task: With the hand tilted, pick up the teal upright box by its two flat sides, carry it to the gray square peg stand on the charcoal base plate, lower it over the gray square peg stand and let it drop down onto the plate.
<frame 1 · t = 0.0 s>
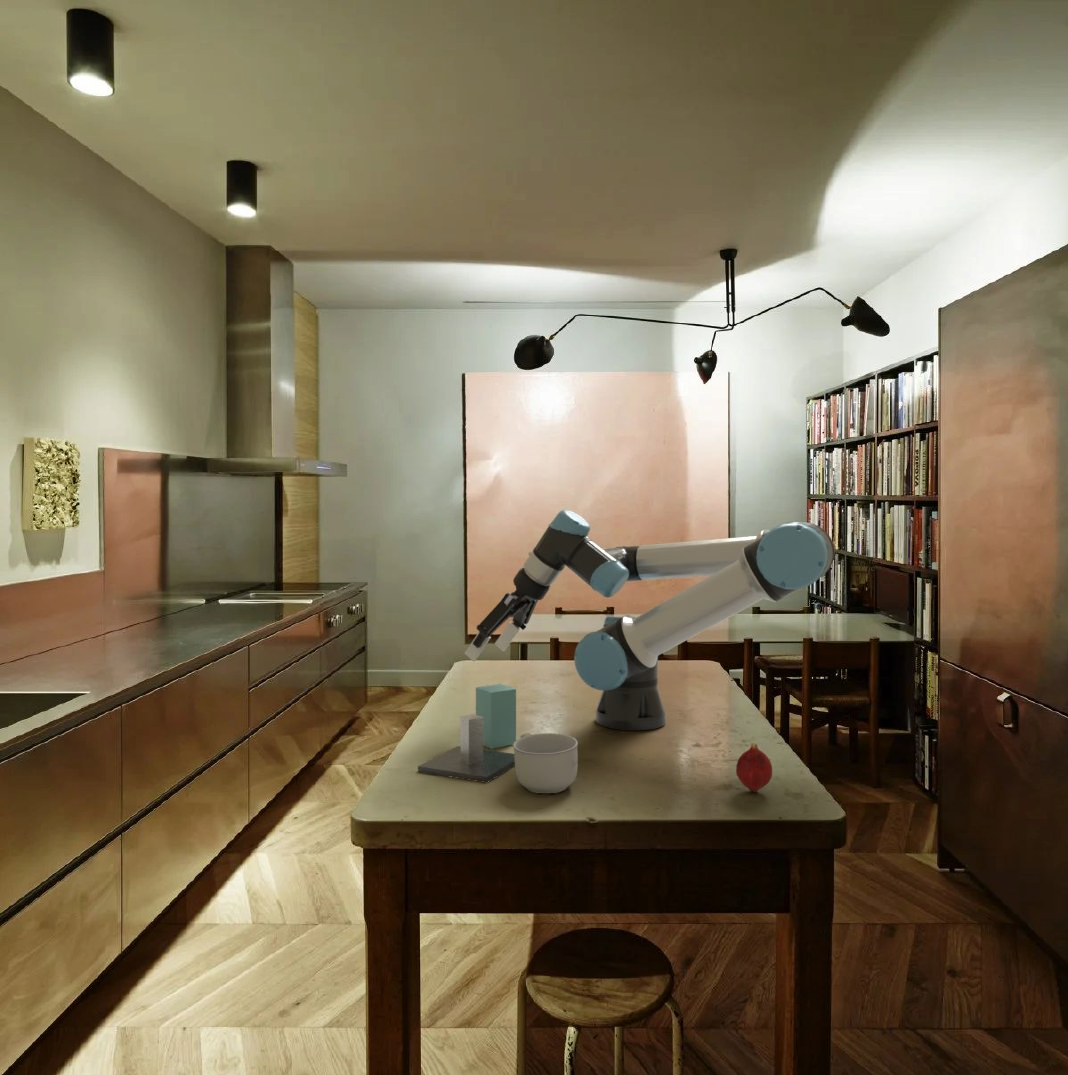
hand: (485, 652, 184), 15 cm above the countertop, tool tilted 35°, fingers open, 13 cm apart
teacup: (542, 786, 142), on the countertop
onion: (754, 793, 139), on the countertop
teal upright box: (495, 742, 168), on the countertop
gray square peg stand: (471, 765, 153), on the countertop
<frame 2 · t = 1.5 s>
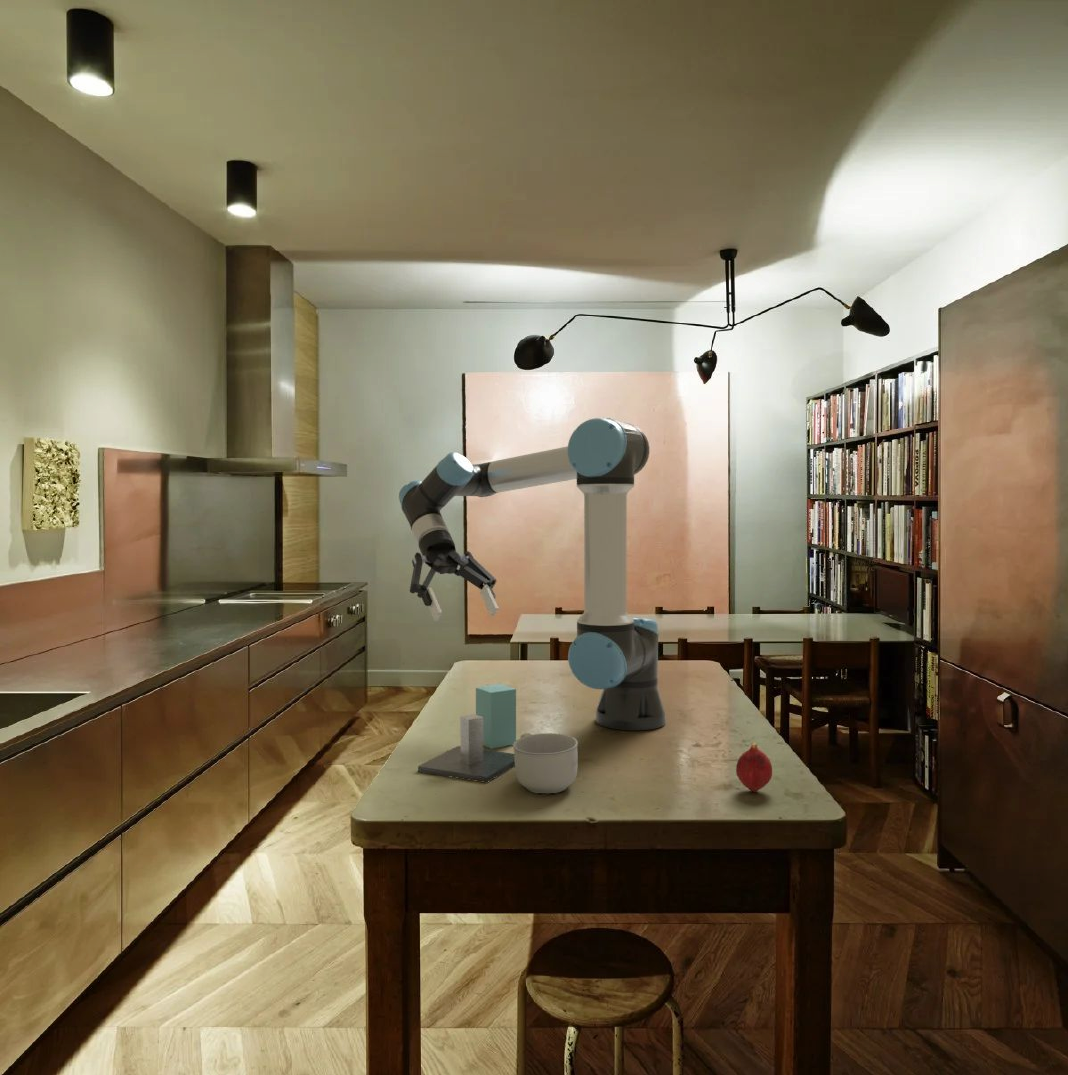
hand: (467, 614, 176), 25 cm above the countertop, tool tilted 45°, fingers open, 13 cm apart
nothing on the countertop moved.
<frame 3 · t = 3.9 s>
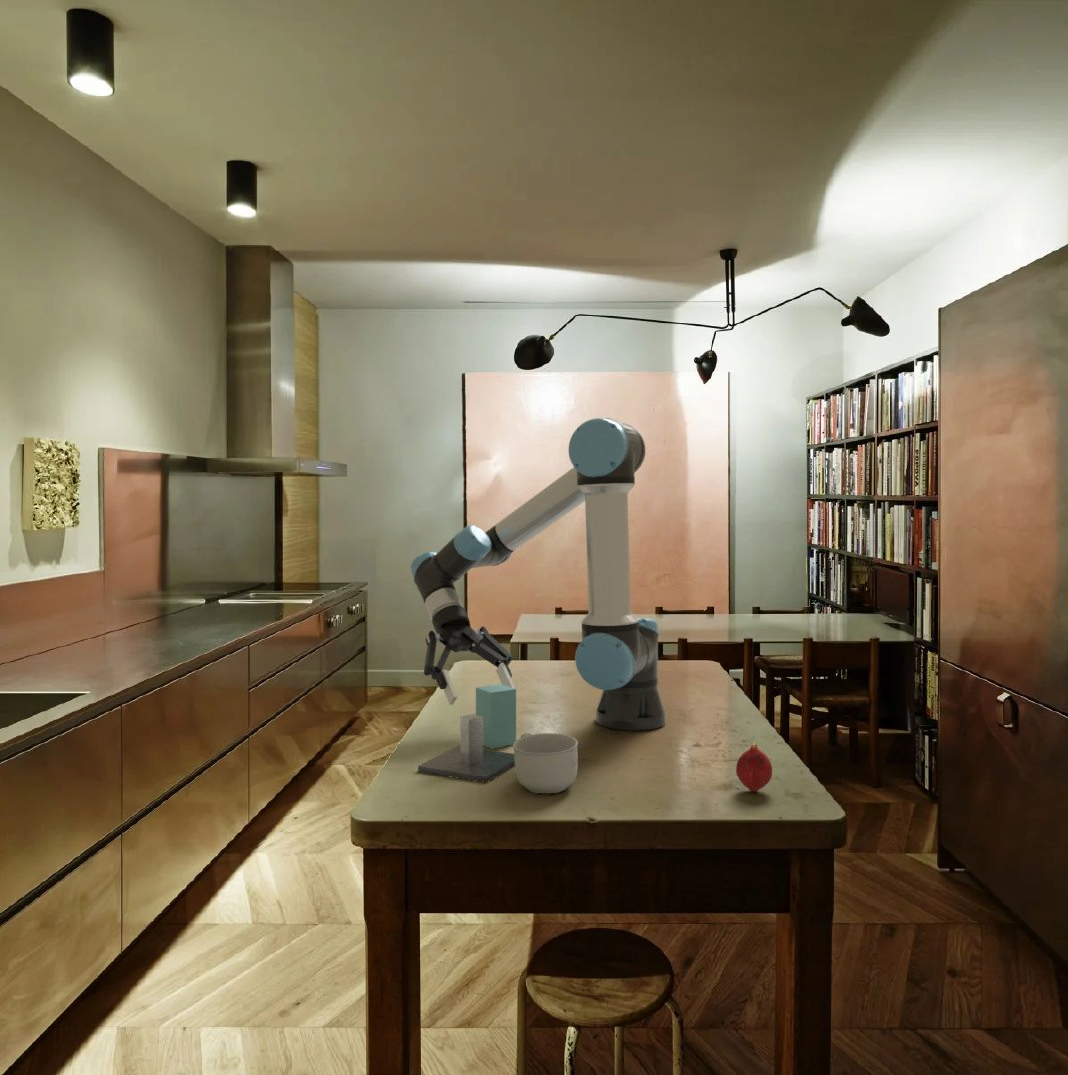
hand: (483, 696, 170), 9 cm above the countertop, tool tilted 45°, fingers open, 13 cm apart
nothing on the countertop moved.
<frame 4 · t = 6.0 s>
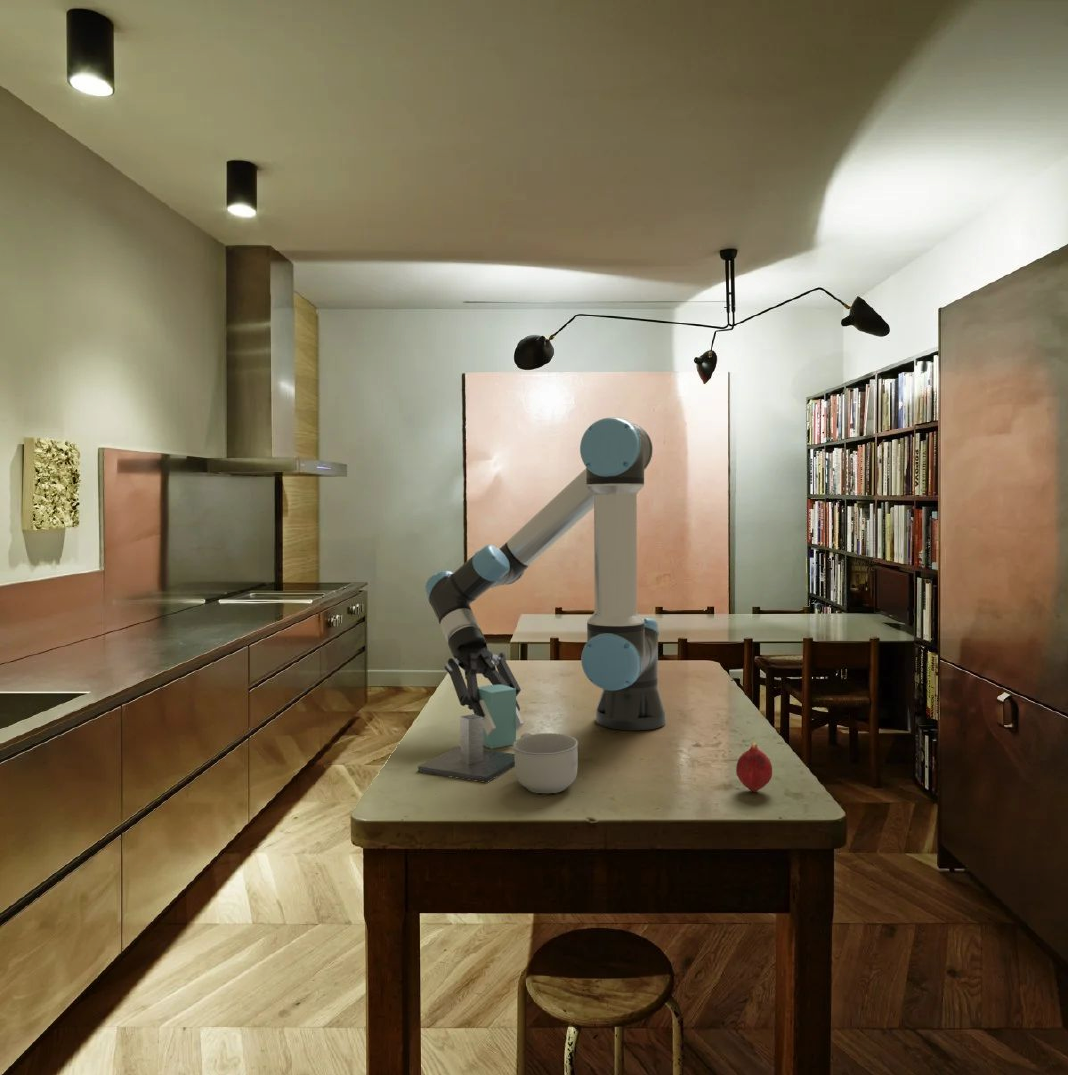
hand: (505, 729, 165), 4 cm above the countertop, tool tilted 45°, fingers closed on teal upright box, 6 cm apart
teal upright box: (495, 742, 168), on the countertop, touching gripper
everything else where it was.
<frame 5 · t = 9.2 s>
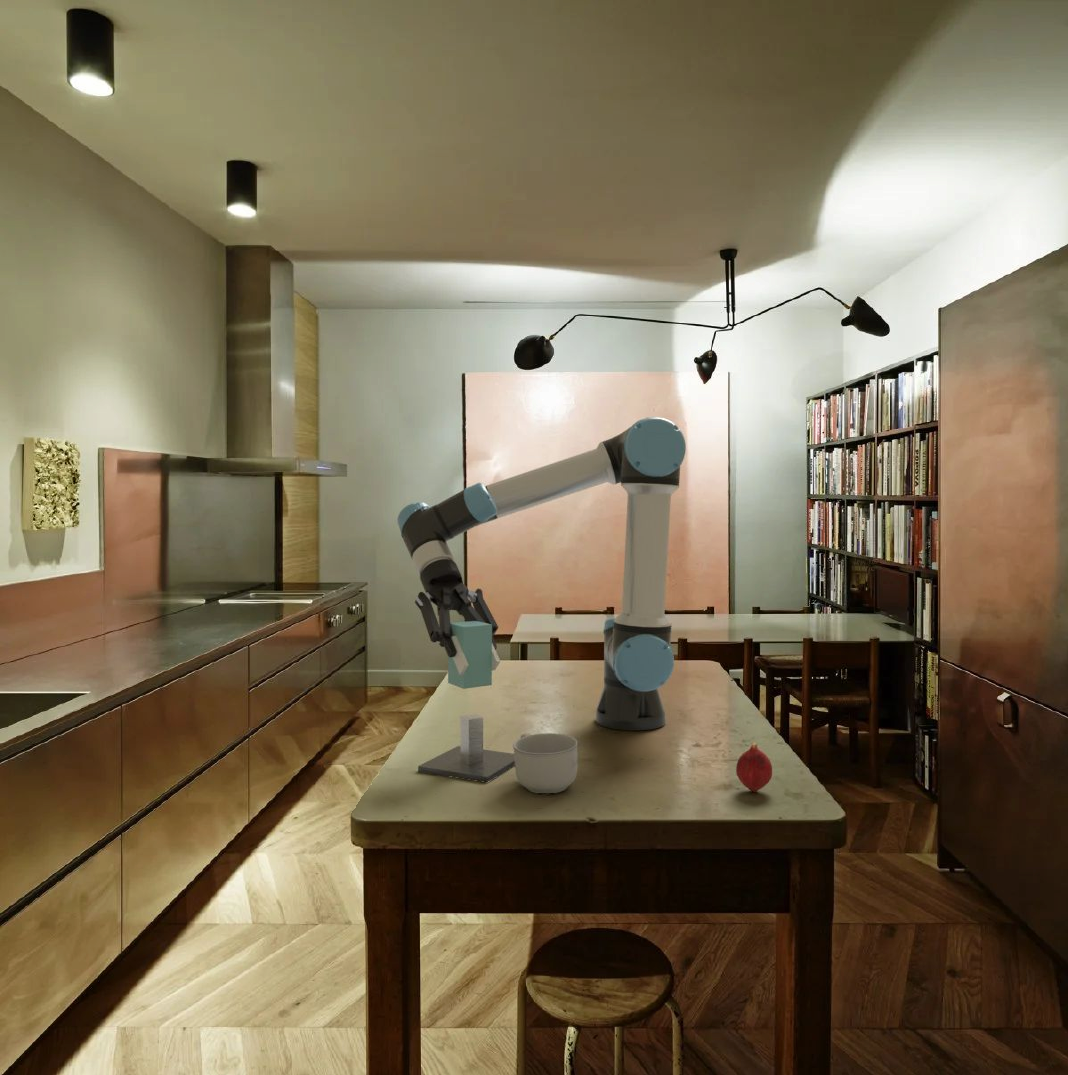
hand: (480, 667, 150), 18 cm above the countertop, tool tilted 45°, fingers closed on teal upright box, 6 cm apart
teal upright box: (469, 684, 153), point 15 cm above the countertop, touching gripper
everything else where it was.
when the fingers open (6 cm above the countertop, at t = 12.4 s): teal upright box drops 2 cm, resting on gray square peg stand.
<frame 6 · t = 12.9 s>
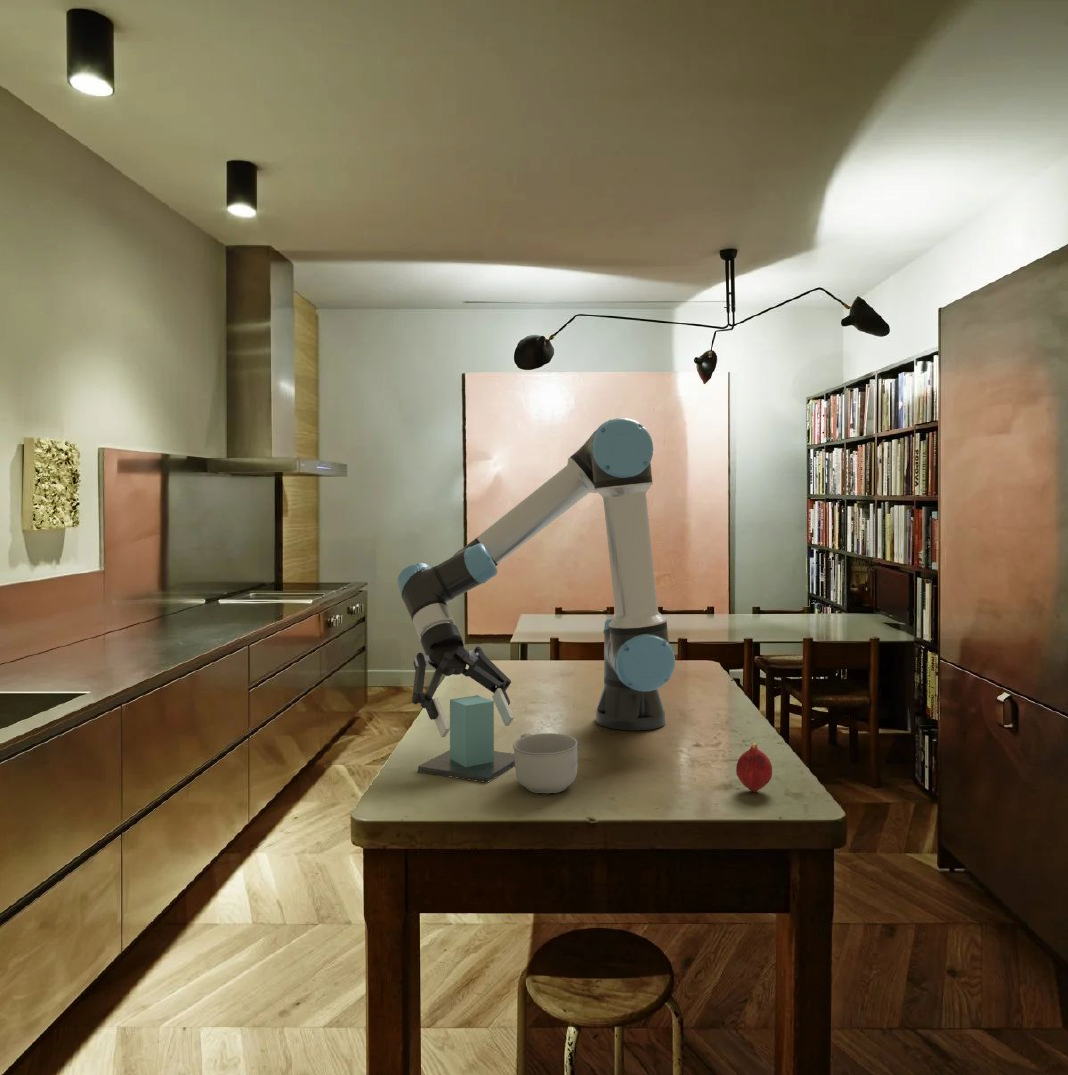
hand: (478, 727, 151), 8 cm above the countertop, tool tilted 45°, fingers open, 13 cm apart
teal upright box: (471, 760, 153), point 1 cm above the countertop, touching gray square peg stand
everything else where it was.
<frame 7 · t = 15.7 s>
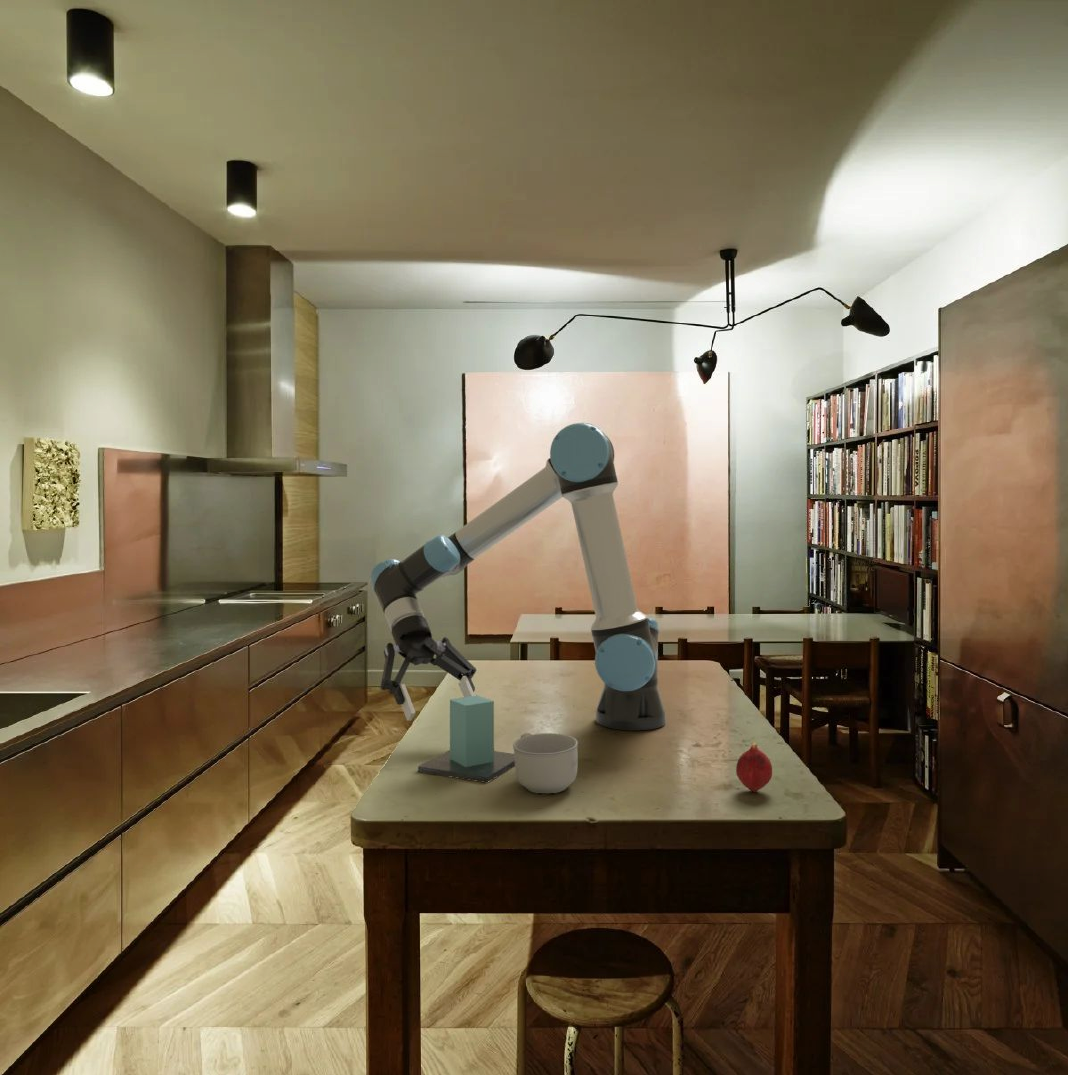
hand: (443, 712, 161), 8 cm above the countertop, tool tilted 45°, fingers open, 13 cm apart
nothing on the countertop moved.
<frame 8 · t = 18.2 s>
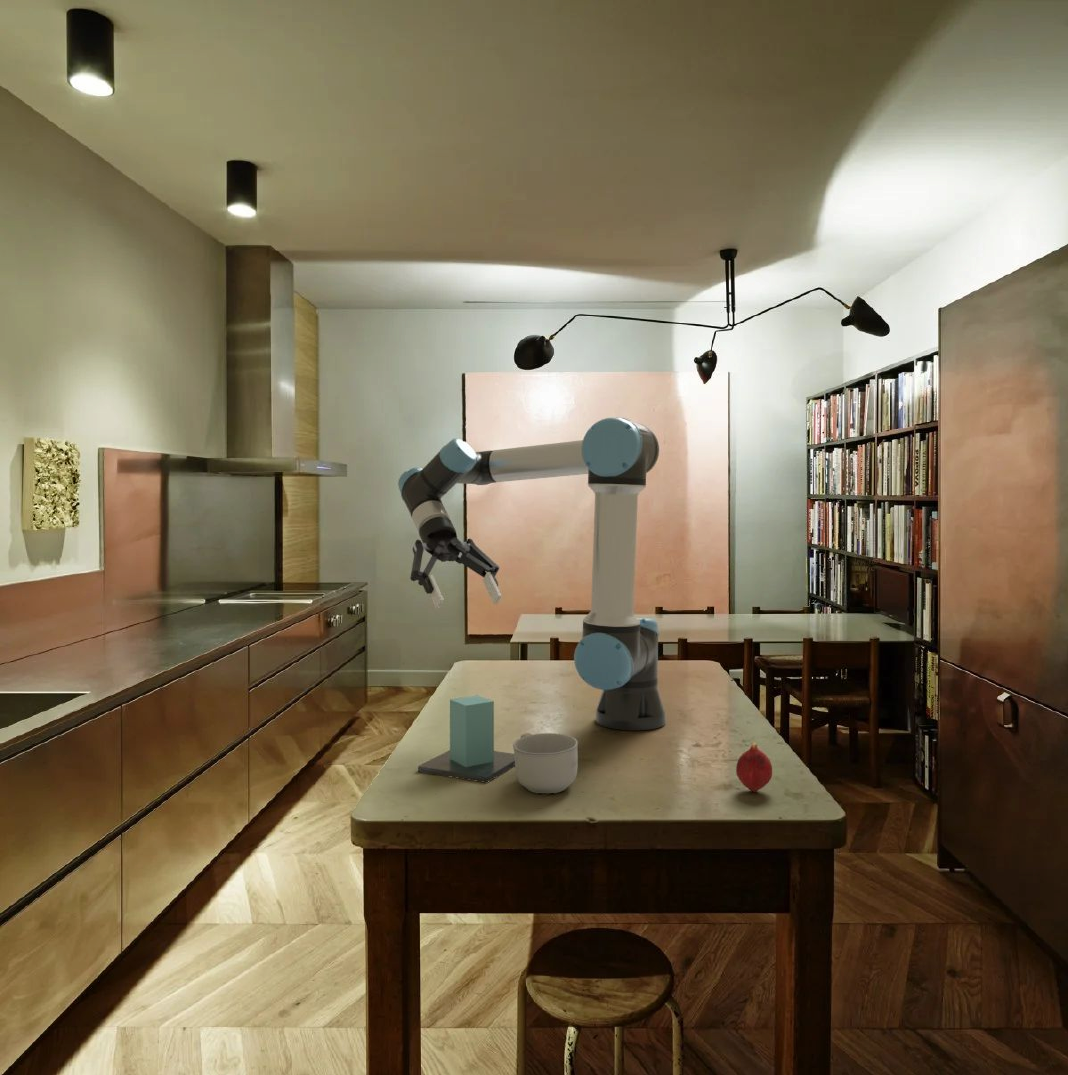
hand: (469, 602, 171), 28 cm above the countertop, tool tilted 45°, fingers open, 13 cm apart
nothing on the countertop moved.
at the end: teal upright box 0.1 cm from the gray square peg stand (horizontally); teal upright box point 1.0 cm above the countertop; the gripper is holding nothing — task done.
